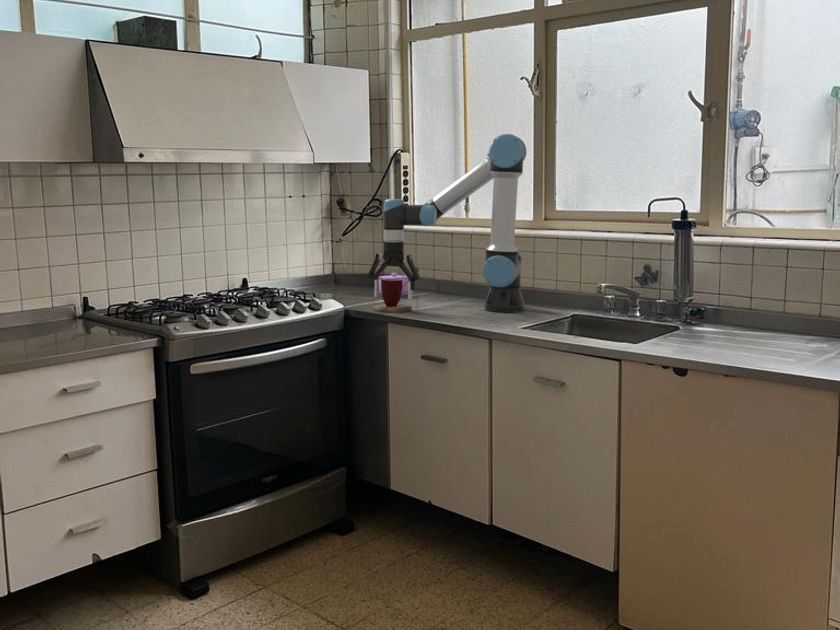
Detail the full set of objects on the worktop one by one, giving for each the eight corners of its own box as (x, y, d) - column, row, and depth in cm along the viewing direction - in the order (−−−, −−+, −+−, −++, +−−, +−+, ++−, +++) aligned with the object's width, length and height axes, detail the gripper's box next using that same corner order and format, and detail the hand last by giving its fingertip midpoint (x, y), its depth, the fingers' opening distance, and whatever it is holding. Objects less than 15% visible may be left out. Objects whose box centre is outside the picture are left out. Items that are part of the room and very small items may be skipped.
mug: (410, 307, 322) (410, 280, 321) (392, 308, 318) (393, 281, 316) (393, 303, 331) (394, 277, 329) (376, 305, 326) (376, 278, 324)
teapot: (389, 300, 351) (390, 276, 349) (368, 296, 360) (368, 273, 358) (421, 296, 363) (421, 273, 362) (399, 293, 373) (399, 270, 371)
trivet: (417, 308, 328) (417, 305, 328) (403, 313, 315) (403, 310, 315) (383, 306, 333) (383, 302, 333) (368, 310, 320) (368, 307, 320)
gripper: (428, 241, 319) (428, 298, 323) (367, 239, 328) (367, 294, 332) (421, 242, 312) (420, 300, 316) (358, 240, 321) (359, 297, 325)
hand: (393, 297), depth 324 cm, fingers open, 13 cm apart
